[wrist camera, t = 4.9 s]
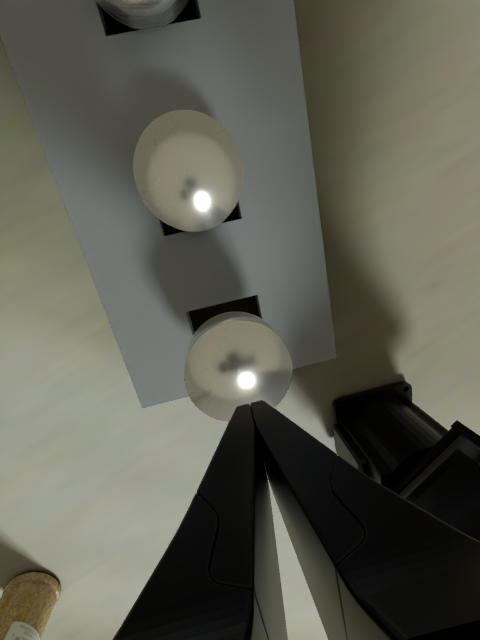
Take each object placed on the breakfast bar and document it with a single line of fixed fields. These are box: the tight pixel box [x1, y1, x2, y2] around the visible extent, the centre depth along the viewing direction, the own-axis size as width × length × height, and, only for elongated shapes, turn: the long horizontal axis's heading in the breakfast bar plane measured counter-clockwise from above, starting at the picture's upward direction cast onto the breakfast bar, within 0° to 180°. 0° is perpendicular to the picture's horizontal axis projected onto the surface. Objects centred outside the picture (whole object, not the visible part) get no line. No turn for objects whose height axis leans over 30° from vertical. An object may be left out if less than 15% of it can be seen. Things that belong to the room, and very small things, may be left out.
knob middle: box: [133, 110, 244, 232], centre depth 13 cm, size 4×4×5 cm
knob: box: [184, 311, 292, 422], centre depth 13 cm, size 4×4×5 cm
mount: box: [0, 0, 337, 408], centre depth 15 cm, size 12×22×4 cm, turn 12°
